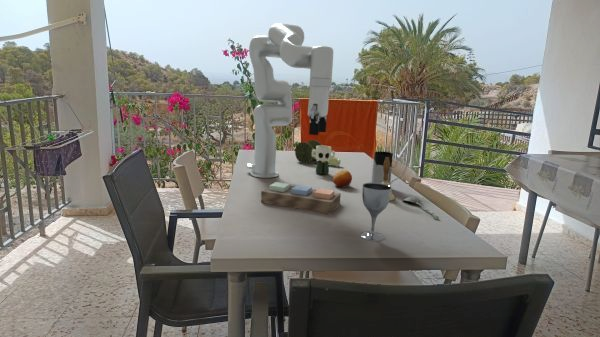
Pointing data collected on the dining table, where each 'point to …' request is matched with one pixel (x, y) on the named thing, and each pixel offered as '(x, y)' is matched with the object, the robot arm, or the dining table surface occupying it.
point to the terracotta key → (324, 193)
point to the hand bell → (386, 169)
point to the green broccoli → (305, 153)
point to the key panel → (301, 200)
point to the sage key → (279, 187)
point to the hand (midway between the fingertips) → (317, 133)
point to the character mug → (323, 158)
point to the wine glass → (375, 205)
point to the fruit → (342, 178)
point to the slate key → (301, 190)
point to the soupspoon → (418, 201)
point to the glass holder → (378, 167)
